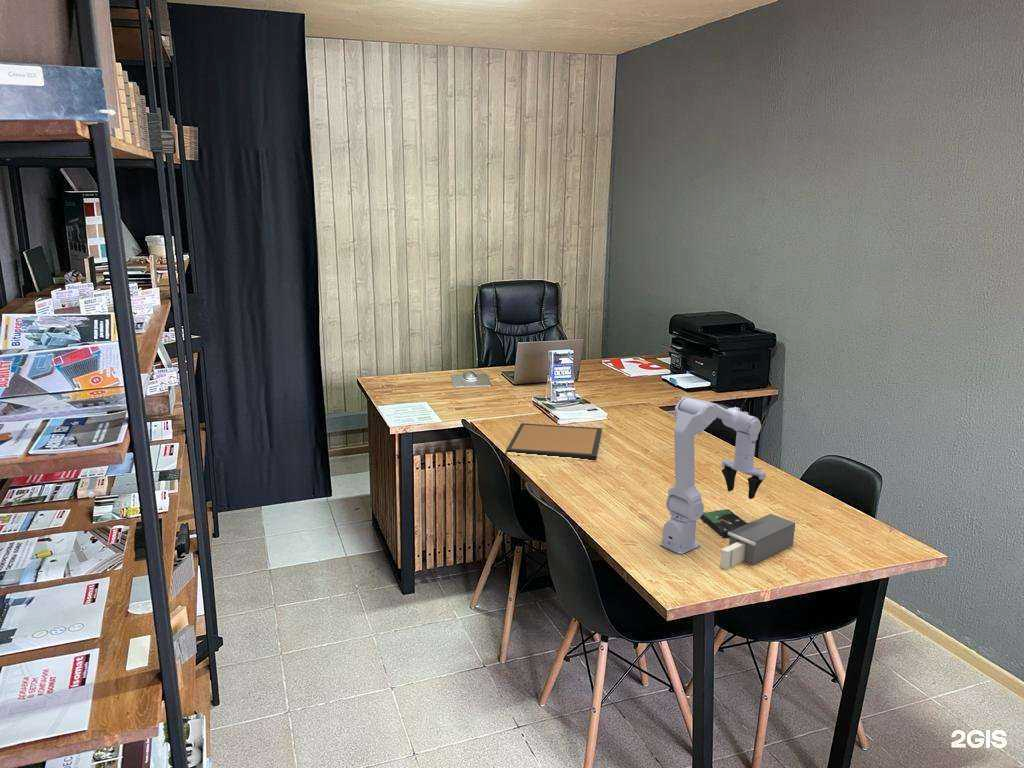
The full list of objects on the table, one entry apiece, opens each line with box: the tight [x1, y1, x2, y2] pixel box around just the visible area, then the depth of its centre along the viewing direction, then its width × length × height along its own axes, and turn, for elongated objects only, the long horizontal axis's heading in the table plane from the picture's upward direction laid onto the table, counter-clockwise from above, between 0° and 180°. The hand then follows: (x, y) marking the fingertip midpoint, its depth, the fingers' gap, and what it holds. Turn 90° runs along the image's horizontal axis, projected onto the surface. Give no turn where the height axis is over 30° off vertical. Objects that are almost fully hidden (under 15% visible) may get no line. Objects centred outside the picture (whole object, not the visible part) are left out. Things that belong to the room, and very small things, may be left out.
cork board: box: [505, 422, 603, 461], centre depth 308 cm, size 36×3×35 cm
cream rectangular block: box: [719, 541, 747, 570], centre depth 212 cm, size 16×2×6 cm, turn 128°
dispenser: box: [728, 513, 796, 566], centre depth 217 cm, size 21×9×7 cm, turn 128°
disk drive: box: [699, 509, 748, 539], centre depth 233 cm, size 10×3×15 cm
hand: (740, 494), depth 233 cm, fingers open, 7 cm apart
